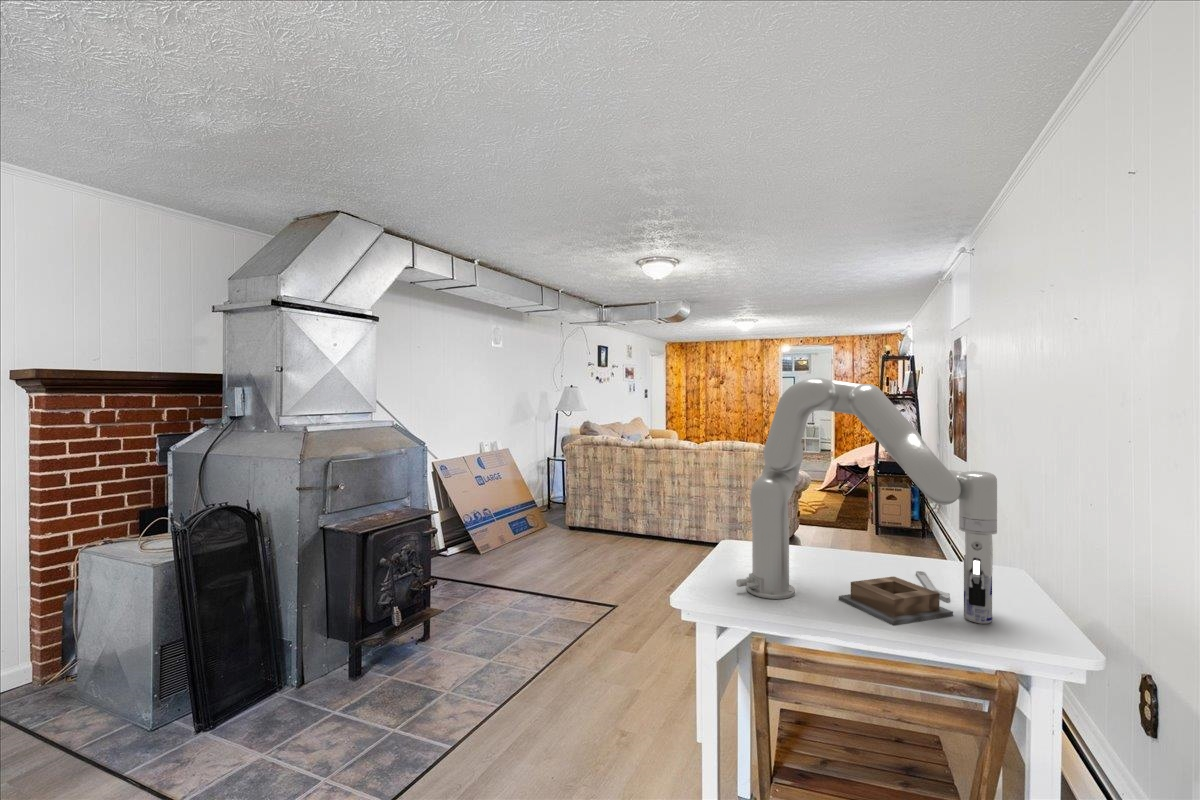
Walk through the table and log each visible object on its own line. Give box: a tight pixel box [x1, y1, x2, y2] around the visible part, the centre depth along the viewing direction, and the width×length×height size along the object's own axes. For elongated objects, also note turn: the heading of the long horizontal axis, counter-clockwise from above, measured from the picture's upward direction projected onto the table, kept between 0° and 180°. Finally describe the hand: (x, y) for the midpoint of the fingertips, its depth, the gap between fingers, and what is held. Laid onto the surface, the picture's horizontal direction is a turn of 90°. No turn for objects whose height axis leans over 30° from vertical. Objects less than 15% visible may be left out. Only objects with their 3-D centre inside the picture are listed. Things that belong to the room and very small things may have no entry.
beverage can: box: [963, 554, 993, 625], centre depth 139 cm, size 6×6×15 cm
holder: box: [838, 576, 954, 626], centre depth 147 cm, size 18×18×5 cm
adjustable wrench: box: [915, 570, 951, 604], centre depth 162 cm, size 25×6×2 cm, turn 157°
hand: (977, 599), depth 139 cm, fingers open, 7 cm apart
